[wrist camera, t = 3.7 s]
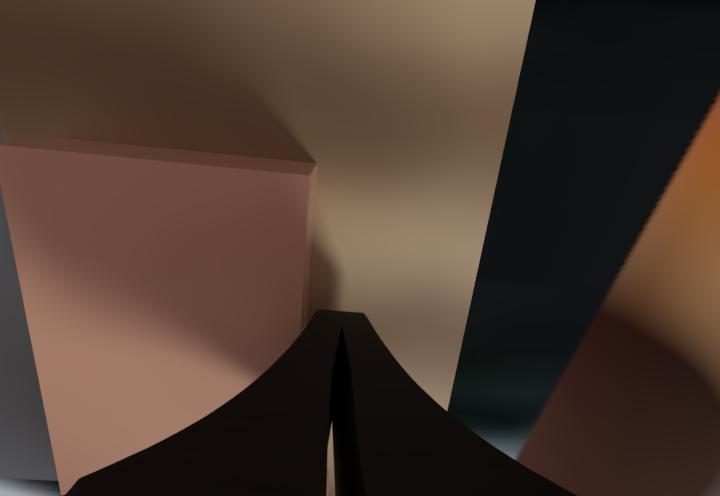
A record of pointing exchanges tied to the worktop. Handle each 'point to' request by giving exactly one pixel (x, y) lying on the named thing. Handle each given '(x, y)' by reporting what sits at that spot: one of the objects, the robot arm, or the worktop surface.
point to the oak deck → (306, 128)
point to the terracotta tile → (152, 284)
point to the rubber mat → (19, 379)
